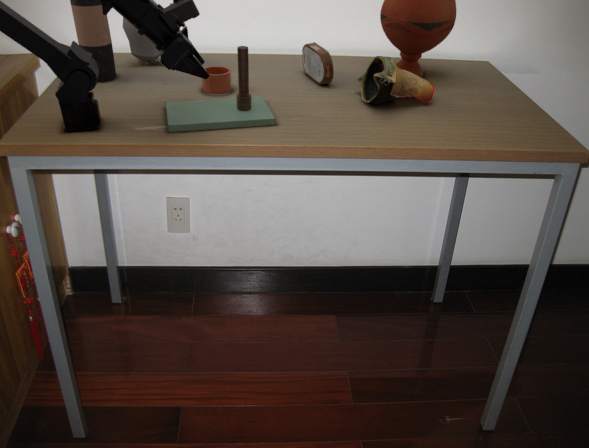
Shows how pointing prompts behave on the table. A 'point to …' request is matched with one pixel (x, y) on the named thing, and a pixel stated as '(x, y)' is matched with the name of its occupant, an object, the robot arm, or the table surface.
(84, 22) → the travel mug
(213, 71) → the cup
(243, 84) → the stirrer
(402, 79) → the pot
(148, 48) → the grey tall faceted solid
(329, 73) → the tin
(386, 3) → the goblet
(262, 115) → the board
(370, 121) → the table surface
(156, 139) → the table surface
